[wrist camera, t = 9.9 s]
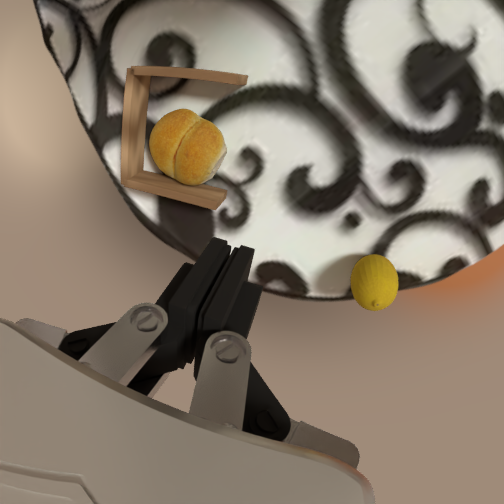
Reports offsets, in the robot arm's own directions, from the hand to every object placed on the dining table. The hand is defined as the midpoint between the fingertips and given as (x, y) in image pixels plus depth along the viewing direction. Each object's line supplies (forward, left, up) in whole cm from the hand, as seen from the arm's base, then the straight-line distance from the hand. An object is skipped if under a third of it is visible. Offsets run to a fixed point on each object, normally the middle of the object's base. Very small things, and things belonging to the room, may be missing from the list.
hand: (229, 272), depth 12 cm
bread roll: (+2, -11, -22) cm, 25 cm away
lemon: (+10, +13, -22) cm, 28 cm away
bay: (0, -12, -22) cm, 25 cm away
